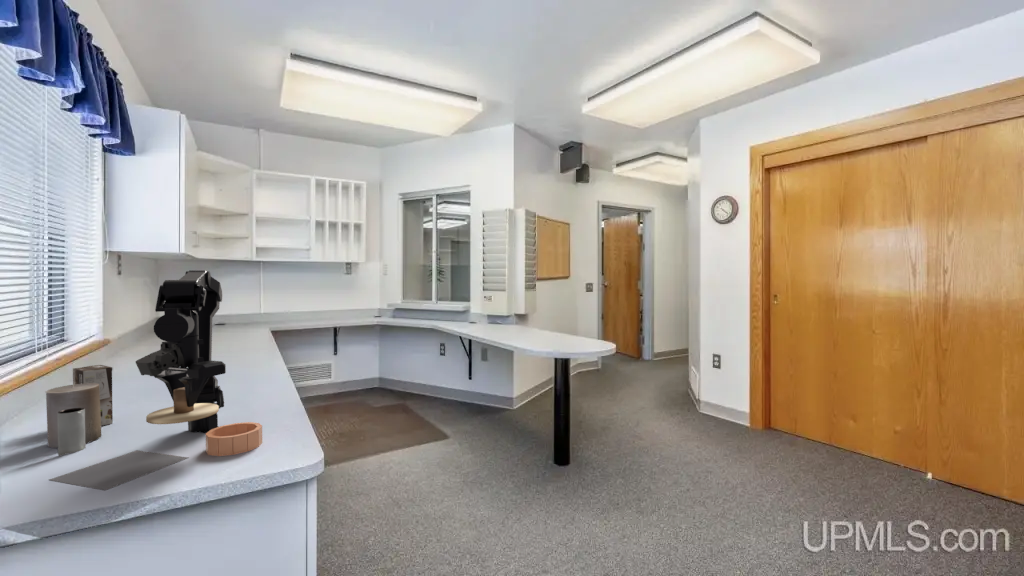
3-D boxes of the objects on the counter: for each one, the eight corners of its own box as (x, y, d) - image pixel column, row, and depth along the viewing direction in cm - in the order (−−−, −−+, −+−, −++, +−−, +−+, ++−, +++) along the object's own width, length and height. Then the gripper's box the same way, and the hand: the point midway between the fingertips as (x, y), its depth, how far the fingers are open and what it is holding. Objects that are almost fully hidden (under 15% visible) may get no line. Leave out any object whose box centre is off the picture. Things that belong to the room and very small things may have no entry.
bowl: (194, 457, 101) (194, 435, 101) (237, 440, 112) (236, 420, 112) (232, 462, 98) (232, 439, 98) (272, 444, 109) (272, 424, 109)
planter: (54, 459, 100) (53, 414, 100) (63, 452, 104) (62, 409, 104) (81, 455, 102) (80, 411, 102) (88, 449, 106) (87, 406, 106)
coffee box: (114, 423, 126) (113, 367, 126) (83, 430, 121) (82, 370, 121) (102, 418, 131) (101, 363, 131) (73, 424, 126) (71, 367, 125)
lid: (131, 420, 95) (130, 393, 95) (192, 404, 107) (191, 380, 107) (174, 426, 91) (173, 398, 91) (232, 409, 103) (231, 384, 103)
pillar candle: (93, 432, 119) (91, 376, 118) (107, 438, 114) (105, 380, 113) (41, 444, 110) (39, 384, 110) (54, 451, 105) (52, 388, 105)
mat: (48, 484, 88) (48, 479, 88) (137, 454, 103) (137, 450, 103) (105, 495, 83) (105, 490, 83) (189, 462, 98) (188, 457, 98)
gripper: (112, 339, 94) (114, 412, 95) (175, 342, 88) (176, 420, 89) (168, 333, 105) (169, 398, 105) (227, 336, 99) (228, 405, 99)
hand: (184, 405), depth 99 cm, fingers closed on lid, 4 cm apart
